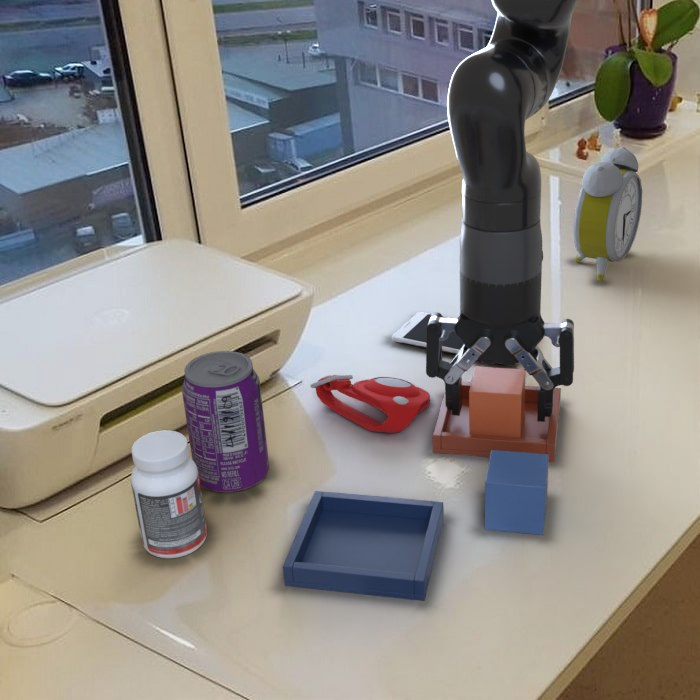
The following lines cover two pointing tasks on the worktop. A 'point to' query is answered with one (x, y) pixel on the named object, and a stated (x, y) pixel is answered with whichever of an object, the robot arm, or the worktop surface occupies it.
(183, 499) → the pill bottle
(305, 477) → the worktop surface
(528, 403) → the terracotta tray
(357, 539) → the blue tray
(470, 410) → the terracotta block
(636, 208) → the alarm clock
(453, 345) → the smartphone
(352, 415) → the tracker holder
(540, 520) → the blue block
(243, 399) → the beverage can
